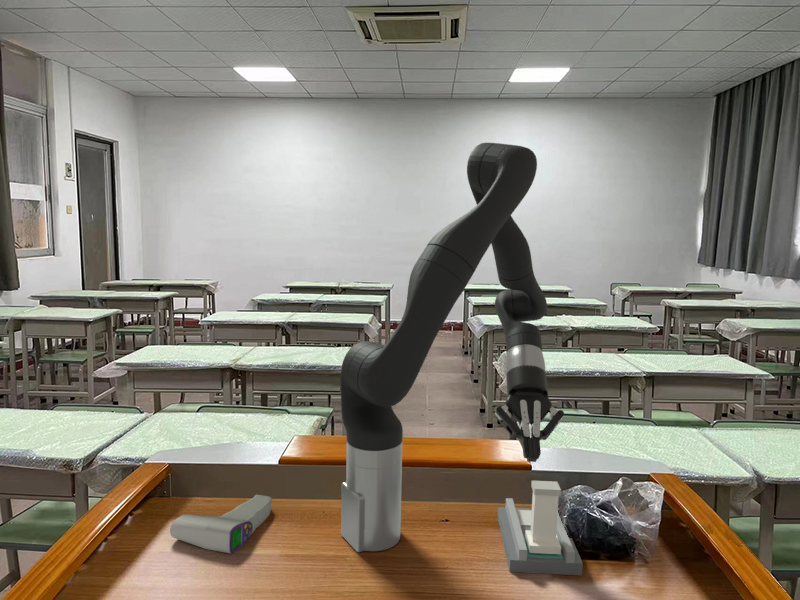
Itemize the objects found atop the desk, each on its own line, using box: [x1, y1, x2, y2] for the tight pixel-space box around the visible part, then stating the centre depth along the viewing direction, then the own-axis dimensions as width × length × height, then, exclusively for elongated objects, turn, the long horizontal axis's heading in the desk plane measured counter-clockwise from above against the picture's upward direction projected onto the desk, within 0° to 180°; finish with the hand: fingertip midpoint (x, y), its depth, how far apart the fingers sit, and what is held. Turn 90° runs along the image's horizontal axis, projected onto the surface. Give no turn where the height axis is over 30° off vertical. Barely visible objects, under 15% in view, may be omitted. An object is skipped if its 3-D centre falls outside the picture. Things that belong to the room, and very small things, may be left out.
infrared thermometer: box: [169, 494, 272, 554], centre depth 100 cm, size 5×12×15 cm
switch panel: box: [497, 497, 584, 576], centre depth 96 cm, size 16×11×4 cm
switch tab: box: [525, 480, 562, 554], centre depth 91 cm, size 4×5×10 cm
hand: (532, 460), depth 101 cm, fingers closed
